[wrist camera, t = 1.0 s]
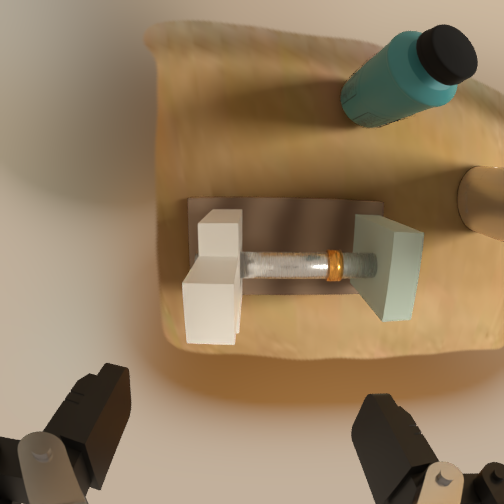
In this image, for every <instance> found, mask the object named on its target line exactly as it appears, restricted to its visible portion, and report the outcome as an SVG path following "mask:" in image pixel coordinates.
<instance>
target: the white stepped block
mask: <svg viewBox="0 0 504 504" xmlns="http://www.w3.org/2000/svg"><path fill="white" fill-rule="evenodd" d="M198 249H199V257H198V258H197V260H196V261H195V263H194V265H193V266H192V268H191V269H190V271H189V273H188V274H187V276H186V277H185V279H184V281H183V282H182V290H183V304H184V317H185V328H186V339H187V343H197V344H225V345H235V337H236V333H239V327H240V315H241V303H242V278H240V252H242V209H213V210H211V211H210V212H209V213H208V214H207V215H206V216H205V217H204V218H203V219H202V220H201V221H200V222H199V223H198Z"/></svg>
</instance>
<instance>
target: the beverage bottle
mask: <svg viewBox="0 0 504 504" xmlns="http://www.w3.org/2000/svg"><path fill="white" fill-rule="evenodd" d="M367 61H368V60H366V62H367ZM364 63H365V62H364ZM477 63H478V61H477V55H476V52H475V50H474V47H473V46H472V44H471V42H470V41H469V40H468V38H467V37H466V36H465V35H464V34H463V33H462V32H461V31H459V30H458V29H456V28H455V27H452V26H450V25H438V26H436V27H434V28H432V29H429V30H427V31H425V32H423V33H421V32H416V31H406V32H402V33H400V34H398V35H397V36H395V37H394V38H393V39H392V40H391V42H390V43H389V44H388V45H386V46H385V47H384V48H383V49H382V50H381V51H380V52H378V53H377V54H376V55H375V56H374V57H372V58H371V59H370V60H369V61H368V62H367V63H366V64H365V65H364V66H363V67H362V68H361V69H360V70H358V69H357V70H358V71H357V70H356V71H357V72H356V71H355V72H356V73H355V72H354V73H353V74H354V75H353V74H352V75H353V76H352V75H351V76H352V77H351V76H350V77H351V78H350V77H349V78H350V79H349V78H348V79H349V80H348V81H347V82H346V81H345V82H346V83H345V85H344V86H343V88H342V91H341V100H340V102H341V105H342V107H343V110H344V112H345V113H346V115H347V116H348V117H349V118H350V119H351V120H352V121H353V122H355V124H358V125H361V126H363V127H368V129H369V128H373V127H377V128H378V126H380V127H382V126H381V125H383V126H385V125H384V124H386V125H389V123H392V122H395V121H397V122H398V120H400V119H401V118H404V117H407V116H409V117H410V115H413V114H415V113H418V112H421V111H424V110H427V109H430V108H433V107H438V106H442V105H445V104H446V103H448V102H449V101H450V100H451V99H452V98H453V97H454V95H455V93H456V90H457V84H459V83H461V82H463V81H464V80H466V79H468V78H470V77H471V76H473V74H474V73H475V72H476V69H477ZM414 116H415V115H414ZM406 119H407V118H406ZM401 120H402V119H401ZM401 120H400V121H401ZM387 123H388V124H387Z"/></svg>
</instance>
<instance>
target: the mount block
mask: <svg viewBox="0 0 504 504" xmlns="http://www.w3.org/2000/svg"><path fill="white" fill-rule="evenodd" d="M423 241H424V233H423V232H421V231H418V230H416V229H413V228H411V227H408V226H406V225H403V224H401V223H398V222H396V221H393V220H390V219H388V218H385V217H383V216H380V215H361V214H355V229H354V243H353V253H375V255H376V257H377V264H378V267H377V273H376V276H375V277H374V278H350V283H351V284H352V285H353V287H354V288H355V289H356V290H357V291H358V293H359V294H360V295H361V296H362V298H363V299H364V300H365V301H366V302H367V304H368V305H369V306H370V307H371V309H372V310H373V311H374V312H375V314H376V315H377V316H378V317H379V318H380V320H381V321H382V322H386V321H400V320H411V316H412V311H413V306H414V301H415V295H416V290H417V284H418V278H419V271H420V264H421V257H422V250H423Z"/></svg>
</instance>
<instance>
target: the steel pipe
mask: <svg viewBox="0 0 504 504" xmlns="http://www.w3.org/2000/svg"><path fill="white" fill-rule="evenodd" d="M198 257H199V251H196V254H195V261H196V260H197V258H198ZM194 263H195V262H194ZM377 267H378V264H377V257H376V255H375V253H343V252H342V251H341V250H326V252H240V278H263V279H325V280H326V281H341V279H342V278H374V277H375V276H376V273H377Z"/></svg>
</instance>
